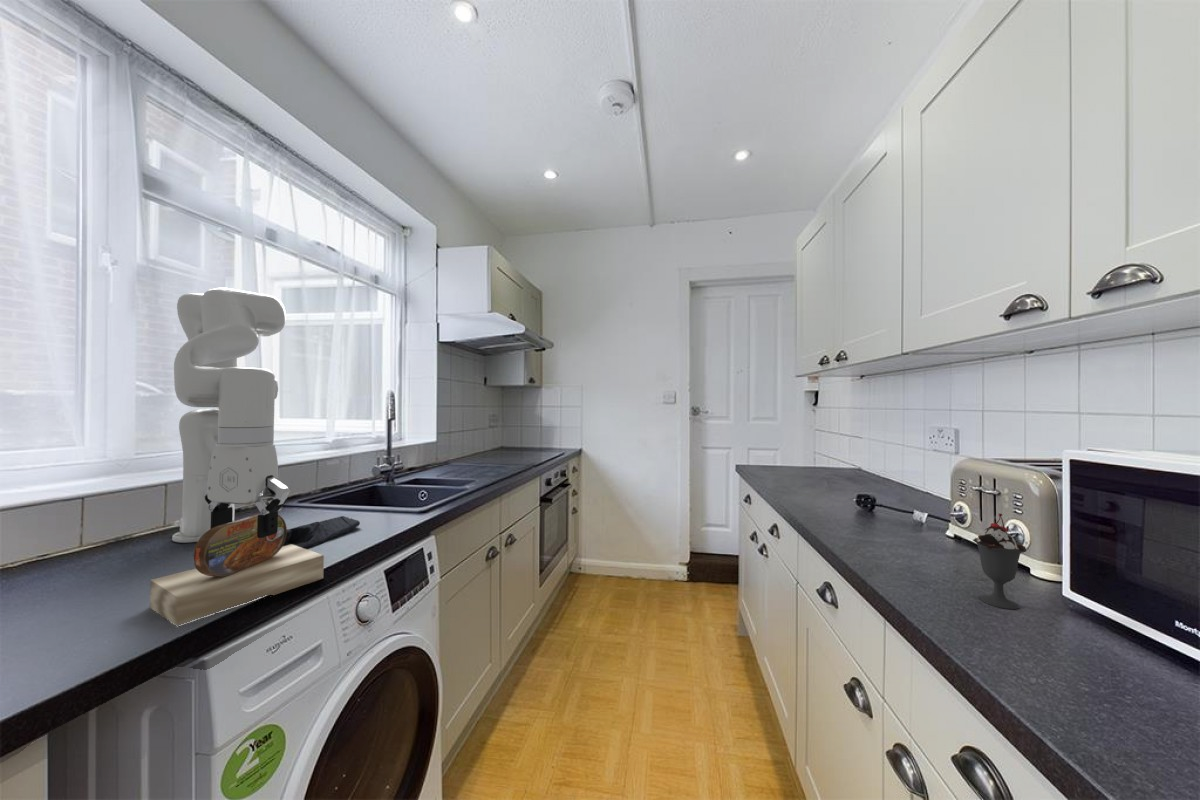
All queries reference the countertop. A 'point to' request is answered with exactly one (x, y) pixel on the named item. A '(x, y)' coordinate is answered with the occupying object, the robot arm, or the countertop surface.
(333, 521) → the dark slate chunk
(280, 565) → the birch block
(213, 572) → the tin
